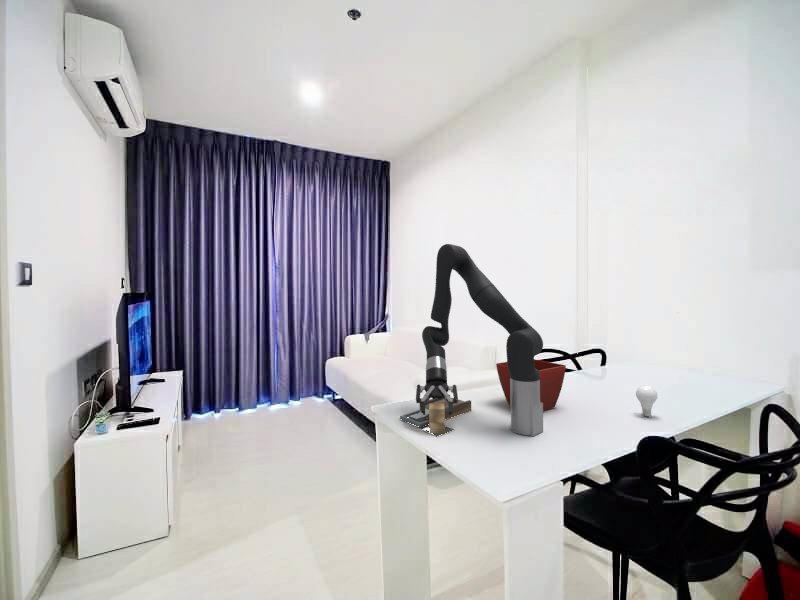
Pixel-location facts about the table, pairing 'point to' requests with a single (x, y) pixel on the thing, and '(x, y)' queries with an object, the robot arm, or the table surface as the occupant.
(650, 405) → the lightbulb
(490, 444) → the table surface
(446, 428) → the mat
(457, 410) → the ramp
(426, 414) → the chip
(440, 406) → the tall wooden block
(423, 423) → the tray
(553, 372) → the plant pot
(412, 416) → the chip
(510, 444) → the table surface
